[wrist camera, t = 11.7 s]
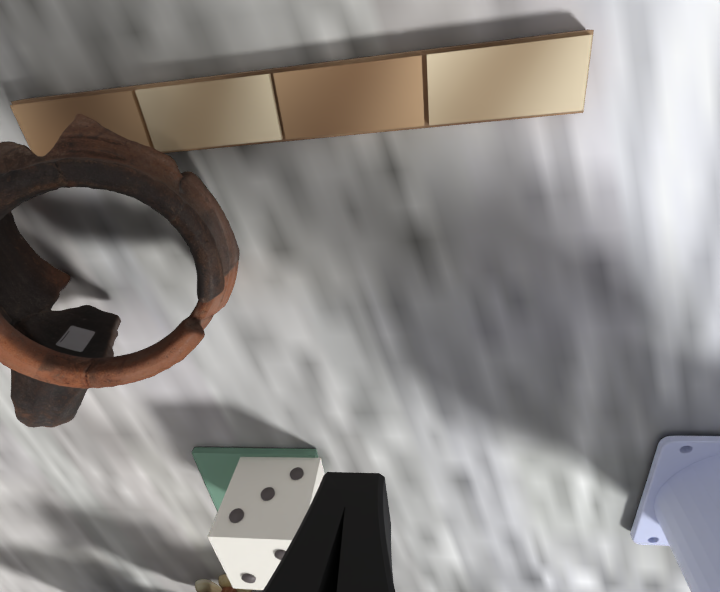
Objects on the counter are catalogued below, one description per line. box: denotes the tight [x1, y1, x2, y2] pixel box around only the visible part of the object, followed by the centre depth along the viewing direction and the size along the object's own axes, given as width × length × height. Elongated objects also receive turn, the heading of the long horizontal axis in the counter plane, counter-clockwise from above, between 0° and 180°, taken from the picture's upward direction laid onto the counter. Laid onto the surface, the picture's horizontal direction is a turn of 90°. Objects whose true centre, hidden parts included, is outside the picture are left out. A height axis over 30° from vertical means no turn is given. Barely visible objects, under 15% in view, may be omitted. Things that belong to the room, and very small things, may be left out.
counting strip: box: [10, 30, 594, 156], centre depth 15 cm, size 19×2×1 cm, turn 97°
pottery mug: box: [0, 114, 239, 427], centre depth 17 cm, size 12×10×8 cm
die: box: [208, 457, 325, 590], centre depth 24 cm, size 5×5×5 cm
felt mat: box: [192, 447, 318, 511], centre depth 27 cm, size 7×7×1 cm
